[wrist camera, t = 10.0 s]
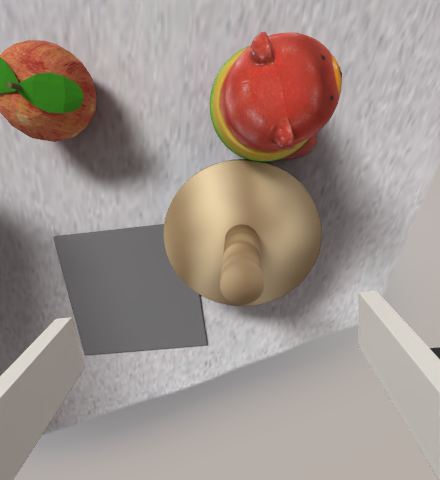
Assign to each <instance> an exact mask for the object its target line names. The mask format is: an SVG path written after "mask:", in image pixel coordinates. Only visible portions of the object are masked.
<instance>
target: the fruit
mask: <svg viewBox="0 0 440 480" xmlns="http://www.w3.org/2000/svg"><path fill="white" fill-rule="evenodd" d="M96 97H97V94H96V91H95V87H94V84H93V80H92V77H91V75H90V74H89V72H88V71H87V69H86V68H85V67H84V65H83V64H82V62H81V61H79V60H78V59H77V58H76V57H75V56H74V55H73V54H72V53H70V52H69V51H67V50H65V49H64V48H62V47H60V46H58V45H57V44H53V43H50V42H46V41H24V42H20V43H16V44H14V45H12V46H11V47H9V48H7V49H6V50H5V51H4V52H3V53H2V54H1V55H0V112H1V114H2V115H3V116H4V117H5V118H6V119H7V120H8V122H9V123H10V124H11V125H12V126H13V127H15V128H17V129H18V130H20V131H21V132H23V133H24V134H26V135H28V136H30V137H32V138H36V139H41V140H47V141H54V142H56V141H60V140H64V139H68V138H72V137H75V136H76V135H78V134H79V133H80V132H81V131H82V130H84V129H85V128H86V127H87V126H88V125H89V123H90V121H91V119H92V117H93V115H94V113H95V110H96Z"/></svg>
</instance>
